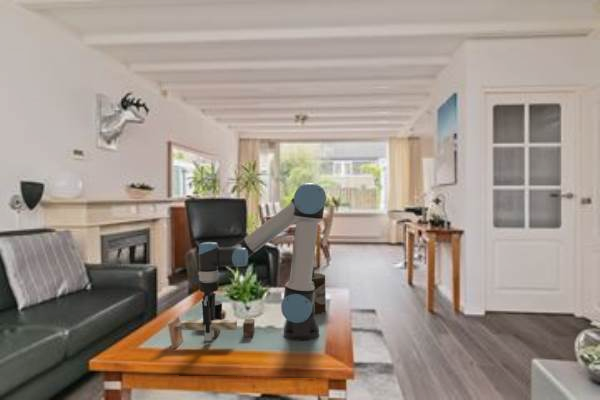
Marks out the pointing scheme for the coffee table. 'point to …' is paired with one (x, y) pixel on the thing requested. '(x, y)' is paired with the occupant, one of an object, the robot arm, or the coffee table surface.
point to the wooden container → (319, 292)
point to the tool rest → (247, 329)
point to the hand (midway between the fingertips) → (209, 338)
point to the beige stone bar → (198, 325)
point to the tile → (175, 332)
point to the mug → (217, 309)
